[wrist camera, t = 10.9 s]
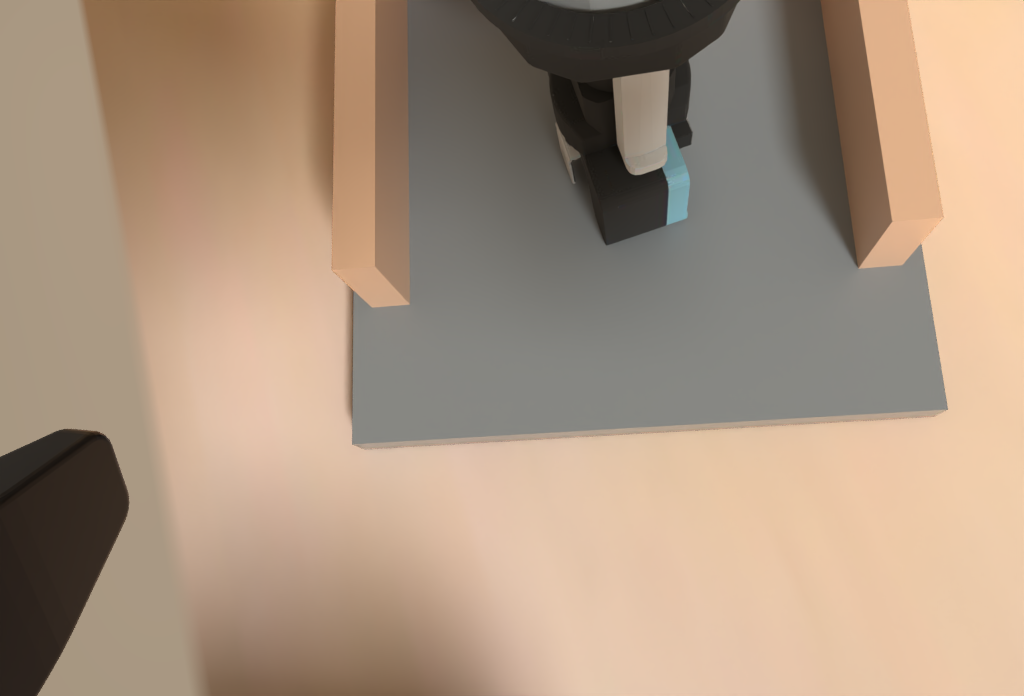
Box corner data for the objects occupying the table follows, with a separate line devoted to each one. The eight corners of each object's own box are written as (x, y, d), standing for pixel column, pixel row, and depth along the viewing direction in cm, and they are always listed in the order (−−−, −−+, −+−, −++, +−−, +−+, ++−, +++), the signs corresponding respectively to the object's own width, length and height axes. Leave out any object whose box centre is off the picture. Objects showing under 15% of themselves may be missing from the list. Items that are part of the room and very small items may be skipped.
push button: (482, 59, 24) (369, -285, 14) (670, -8, 23) (688, -409, 14) (556, 280, 22) (485, 58, 12) (761, 210, 21) (855, -74, 12)
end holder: (933, 416, 21) (999, 383, 17) (365, 449, 23) (306, 426, 19) (846, -144, 25) (883, -275, 21) (367, -76, 26) (320, -184, 23)
